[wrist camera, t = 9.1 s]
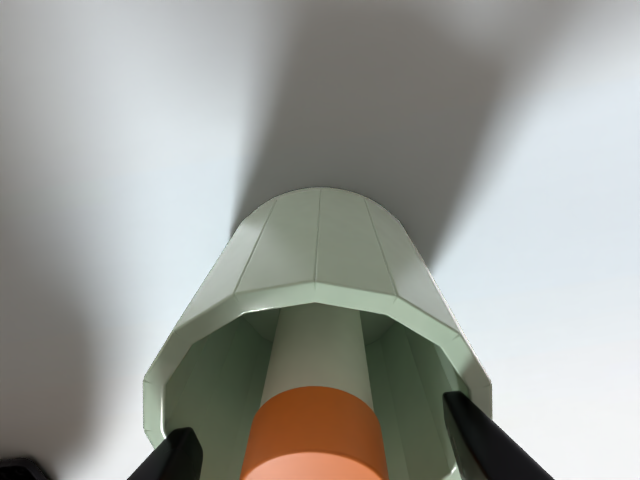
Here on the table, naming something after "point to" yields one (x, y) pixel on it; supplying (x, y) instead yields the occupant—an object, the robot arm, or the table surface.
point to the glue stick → (316, 402)
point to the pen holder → (327, 288)
